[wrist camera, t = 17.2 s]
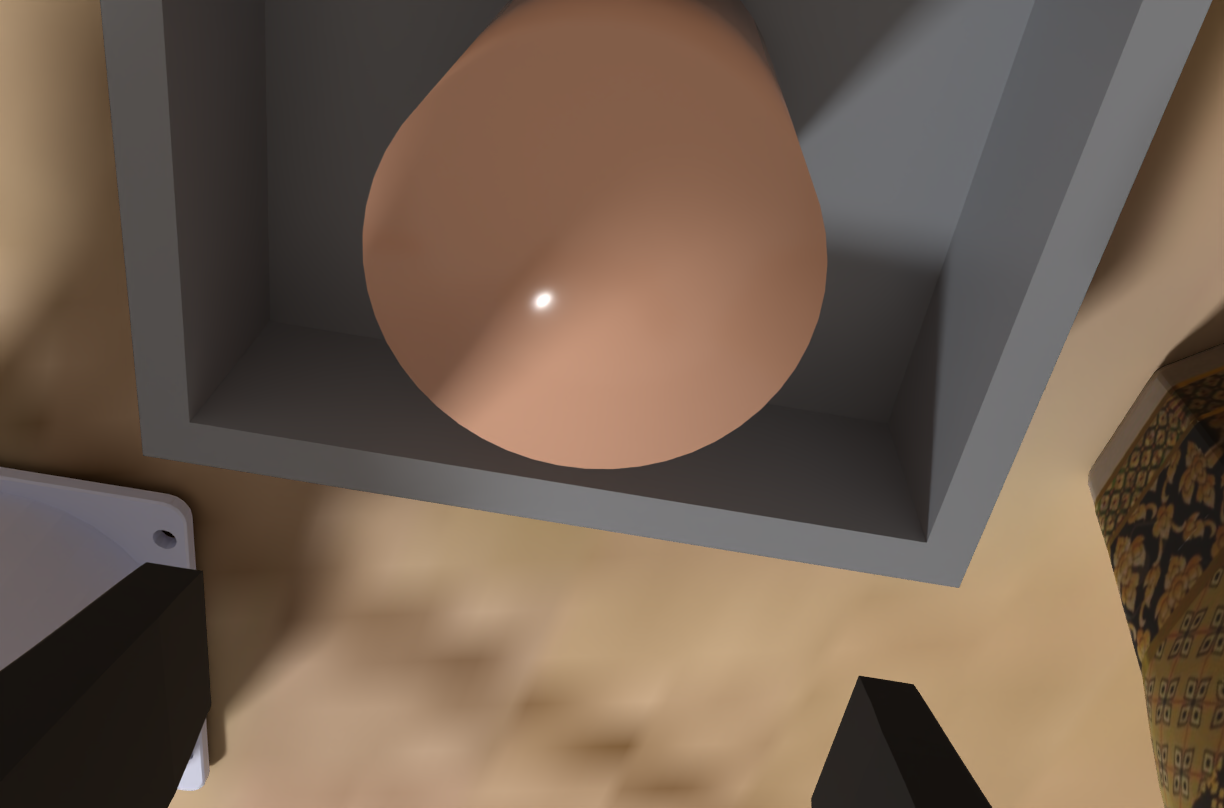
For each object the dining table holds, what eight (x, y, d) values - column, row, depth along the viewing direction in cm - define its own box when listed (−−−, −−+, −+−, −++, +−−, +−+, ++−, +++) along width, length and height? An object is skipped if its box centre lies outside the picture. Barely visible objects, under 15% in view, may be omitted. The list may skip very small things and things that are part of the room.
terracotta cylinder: (736, 272, 18) (762, 502, 12) (461, 221, 18) (352, 428, 12) (811, -20, 16) (888, 88, 10) (493, -84, 16) (375, -10, 10)
